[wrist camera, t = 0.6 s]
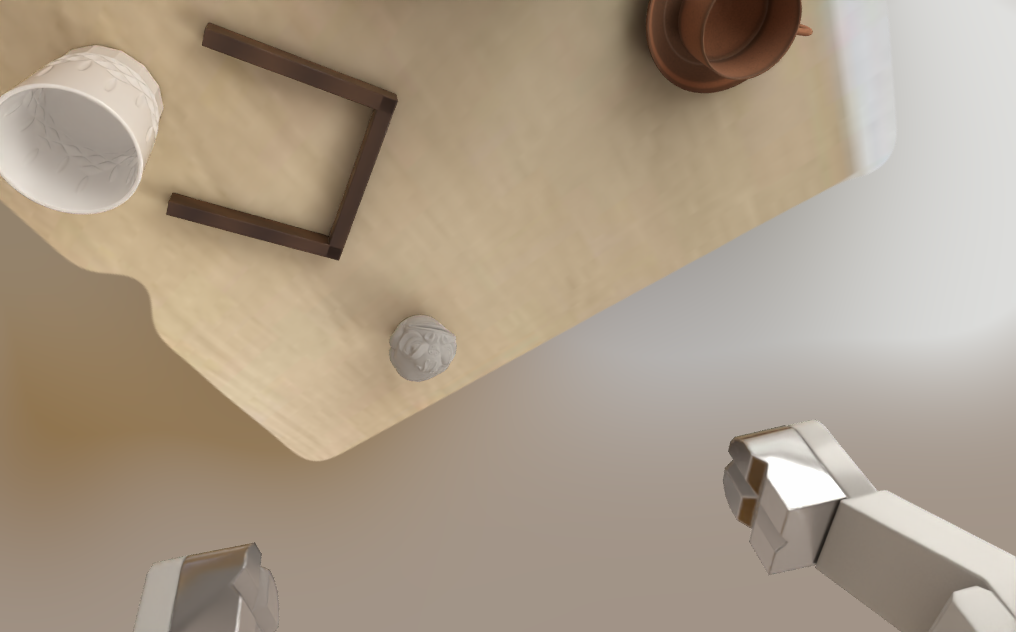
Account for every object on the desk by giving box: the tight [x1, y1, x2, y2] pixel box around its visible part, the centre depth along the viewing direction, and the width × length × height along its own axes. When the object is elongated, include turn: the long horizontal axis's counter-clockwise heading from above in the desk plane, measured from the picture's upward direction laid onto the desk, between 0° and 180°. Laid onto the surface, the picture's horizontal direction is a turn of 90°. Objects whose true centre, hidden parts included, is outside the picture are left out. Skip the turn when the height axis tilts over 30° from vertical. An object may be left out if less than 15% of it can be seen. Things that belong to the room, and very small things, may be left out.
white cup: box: [0, 45, 164, 214], centre depth 42 cm, size 8×8×10 cm
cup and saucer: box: [646, 0, 813, 93], centre depth 49 cm, size 12×12×6 cm
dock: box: [166, 23, 398, 260], centre depth 50 cm, size 13×14×2 cm
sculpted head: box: [389, 315, 457, 382], centre depth 61 cm, size 6×7×7 cm
